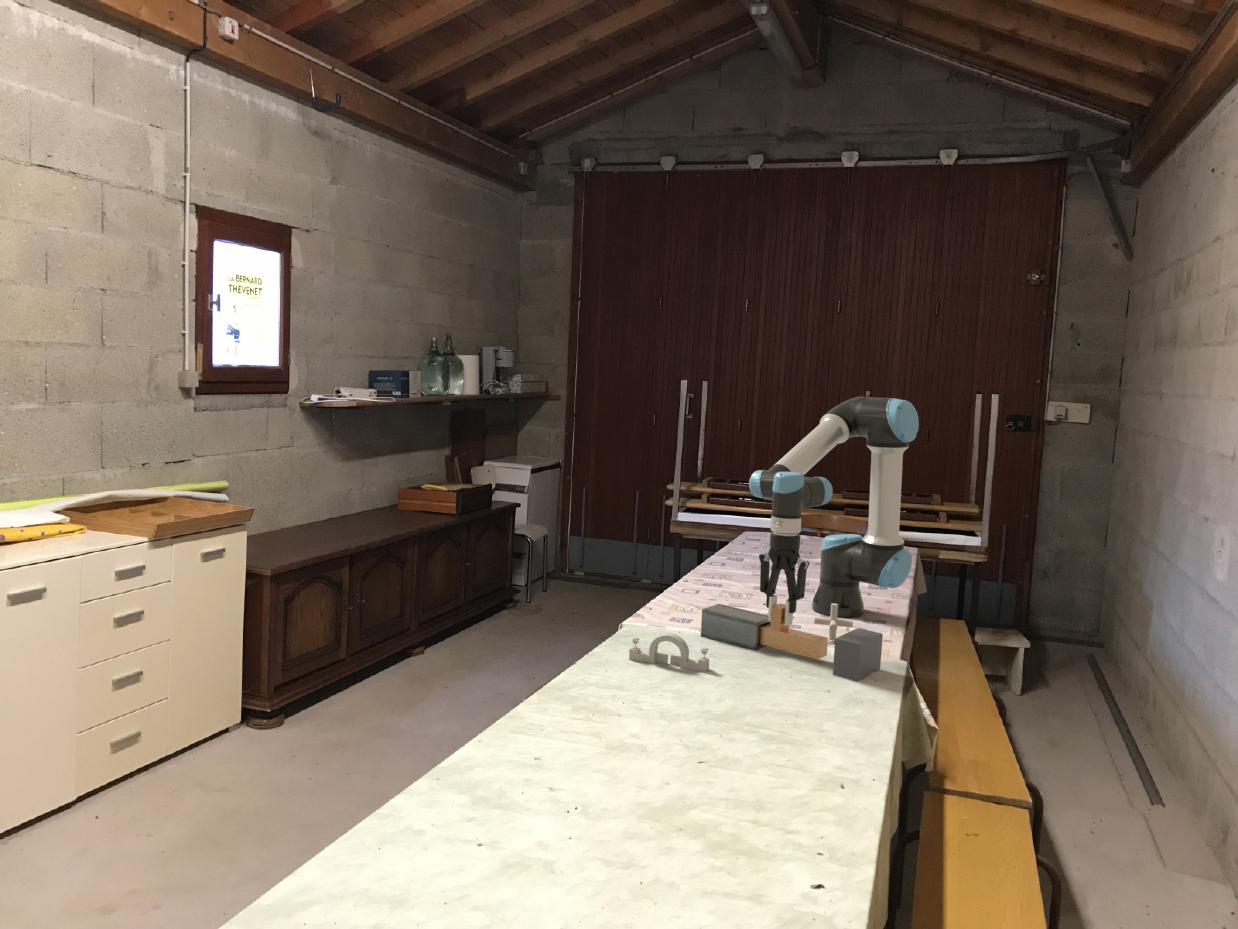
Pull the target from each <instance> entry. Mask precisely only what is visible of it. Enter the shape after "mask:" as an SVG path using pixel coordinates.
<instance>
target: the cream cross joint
mask: <svg viewBox="0 0 1238 929" xmlns="http://www.w3.org/2000/svg"><path fill="white" fill-rule="evenodd" d="M837 613H838V604H835V603H832V604H831V613H830V615H829V618H827V617H814V622H813V624H814V625H821V626H822V625H824V626H825V625H826V626H829V631H828V632H829V634H828V641H829V640H832V641H833V640H834V641H835V638H837V630H838V627H847V628H853V623H854V621H853V620H850V619H849V620H848V619H841V618H838V617H837ZM832 641H831V642H832Z"/></svg>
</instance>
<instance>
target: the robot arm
mask: <svg viewBox="0 0 1238 929" xmlns="http://www.w3.org/2000/svg"><path fill="white" fill-rule="evenodd" d="M919 423H920V420H919V415H918V411H917V410H916V408H915V407H914V405H913V403H911V401H909V400H905V399H899V398H895V397H894V398H891V397H890V398H889V397H873V396H872V397H871V396H870V397H868V396H856V397H852V398H850V399H847V400H845V401H843V402H841V403H840V404H837V405H836V406H834V407H833V408H831V409H830V410H829V411H827V412H826V413H825V414H824V415H823V416H822V417H821V418H820V419H819V424H818V425H817V426H816V427H815V428H814V429H813V430H811V431H810V432H809V433H808V434H806V436H805V437H803V438H802V439H801V440H800V441H799V442H798V443H797V444H796V445H794V447H792V448H791V449H790V450H789V451H788V452H787V453H786V454H784V455H783V457H782V458H780V459H779V460H778V461H777V462H776V463H775V464H773V465H772V467H770V468H769V469H768V470H766V469H762V470H761V469H759V470H755V471H753V473H752V474H751V475H750V478H749V482H748V487H749V491H750V493H751V495H752V496H754V497H755V498H760V499H763V500H768V501H771V502H772V505H771V506H772V508H771V517H770V521H771V522H770V531H771V533H770V535H769V536H770V537H769V550H768V552H765V553H761V554H759V555H758V558H759V562H760V573H759V575H760V580H759V581H760V582H759V590H760V592H761V593H763V594H765V595H766V602H765V605H766V608H767V609H768V612H767V613H768V614H767V615H768V622H771V617H772V606H775V605H778V595H776V593H777V592H776V590H777V586H778V581H779V578H780V574H781V571H782V570H784V575H785V579H786V580H785V581H786V586H787V587H786V588H787V594H788V599H786V600H785V605H786V608H785V626H788V625H789V626H791V625H793V618H794V616H793V615H794V614H795V613H796V612H797V601H799V600H802V599H804V598H805V595H806V594H805V593H806V580H807V570H808V568H809V565H810V561H808V560H805V559H803V558H801V556H800V552H799V551H800V548H801V546H800V545H801V535H800V533H801V531H802V516H803V515H802V512H803V509H805V508H813V507H814V508H815V507H817V508H818V507H820V506H823V505H826V504H828V503H830V501H831V499H832V497H833V494H834V493H833V492H834V491H833V489H834V488H833V485H832V483H831V482H830V481H829V479H827V478H825V477H822V476H813V477H809V476H805V475H806V474H807V473H808V472H809V471H810V470H811V469H812V468H813V467H814V466H815V465H816V464H818V462H820V461H821V460H822V459H824V457H825V456H826V455H827V454H828V453H829V452H830V451H832V450H833V449H834V448H835V447H836V446H837V445H838V444H843V443H845V442H846V441H847V440H849V439H852V438H855V437H859V438H866V447H867V448H868V449H869V451H871V454H870V455H871V458H870V459H871V460H870V461H871V462H870V478H869V479H870V482H869V502H868V503H869V505H868V524H867V526H868V527H867V534H865V535H864V537H863V536H862V535H860V534H856V533H839V534H831V535H830V534H829V535H826V536H825V537H824V538H823V540H822V543H821V549H820V551H821V553H820V569H819V570H820V572H819V584H818V587H817V589H816V591H815V593H814V597H813V599H812V602H811V603H812V604H811V608H812V610H813V611H814V612H816V613H819V614H822V615H827V616H830V613H831V604H832V603H835V604H838V613H837V618H838V617H841V618H853V617H859V616H862V615H864V611H865V610H864V609H865V606H864V604H865V603H864V601H863V597H862V593H861V589H860V582H861V583H865V584H870V585H873V586H878V587H880V588H889V589H897V588H899V587H900V586H902V585H903V584H904V583H905V581H906V580H907V578H908V576H909V574H910V572H911V568H912V564H913V563H912V562H913V559H912V558H913V557H912V555H911V552H910V551H909V550H907V549H905V540H904V539H903V538H902V537H901V536H900V520H901V519H900V518H901V516H900V515H901V498H902V480H903V479H902V478H903V459H904V458H903V457H904V452H905V451H906V450H907V449H909V447H910V442H913V441H914V440H915V439H916V437H917V433H918V432H919V428H920V427H919V426H920V424H919ZM770 561H771V563H772V564H771V563H770ZM770 564H771V568H770ZM796 565H797V568H798V569H797V575H796ZM770 571H771V572H770Z"/></svg>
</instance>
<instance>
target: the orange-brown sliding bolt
mask: <svg viewBox="0 0 1238 929" xmlns="http://www.w3.org/2000/svg"><path fill="white" fill-rule="evenodd" d="M785 608H786V603H777V605H775V606H772V617H771V624H769V623H764V624H761V625H759V636H758V644H762V645H766V647H769V648H770V647H771V648H774V649H779V650H783V651H787V652H789V653H794V654H797V655H800V656H801V655H802V656H805V657H809V658H812V659H816V660H819V659H823V657H826V656H828V641H829V637H826V636H823V635H819V634H814V633H810V632H806V631H802V630H797V629H794V628H790V625H788V626H785Z"/></svg>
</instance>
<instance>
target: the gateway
mask: <svg viewBox="0 0 1238 929" xmlns="http://www.w3.org/2000/svg"><path fill="white" fill-rule="evenodd" d="M640 640H641V639H640V638H639V637H636V636H635V637H633V638H632V639H631V641H632V644H634V646H631V647H630V648H629V650H628V651H629V652H628V654H629V655H628V660H629V661H636V662H642V663H649V664H655V663H662V664H667V665H668V663H669V662H670V665H674V664H675V666H680V667H681V669H685V668H686V669H687V670H692V671H698V672H699V671H700V672H706V673H707V671H708V670H709V669H710V658H709V657H705V656H706V655H707V653H708V651H709V650H710V649H709V648H708V647H702V648H701V649H700V650H699V651H701V654H702V655H703V656H701V657H700V658H699V659H694V658H693V659H690V649H689V646H688V643H687V642H686V641H685V640H684V638H682V637H681V636H679V635H678V634H675V633H672V632H666V633H663V634H660V635H658V636H657V637H655V638H654V639H653V640H652V642H651V643H650V645H649V650H648V651H643V650H641V647H639V646H637V645H638V644H639V641H640ZM662 642H670V643H672V644H673V645H675V646H676V647H677V648H678V650H679V651H680V655H674V654H670V661H669V654H666V653H661V652H658V649H659V644H660V643H662Z"/></svg>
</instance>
